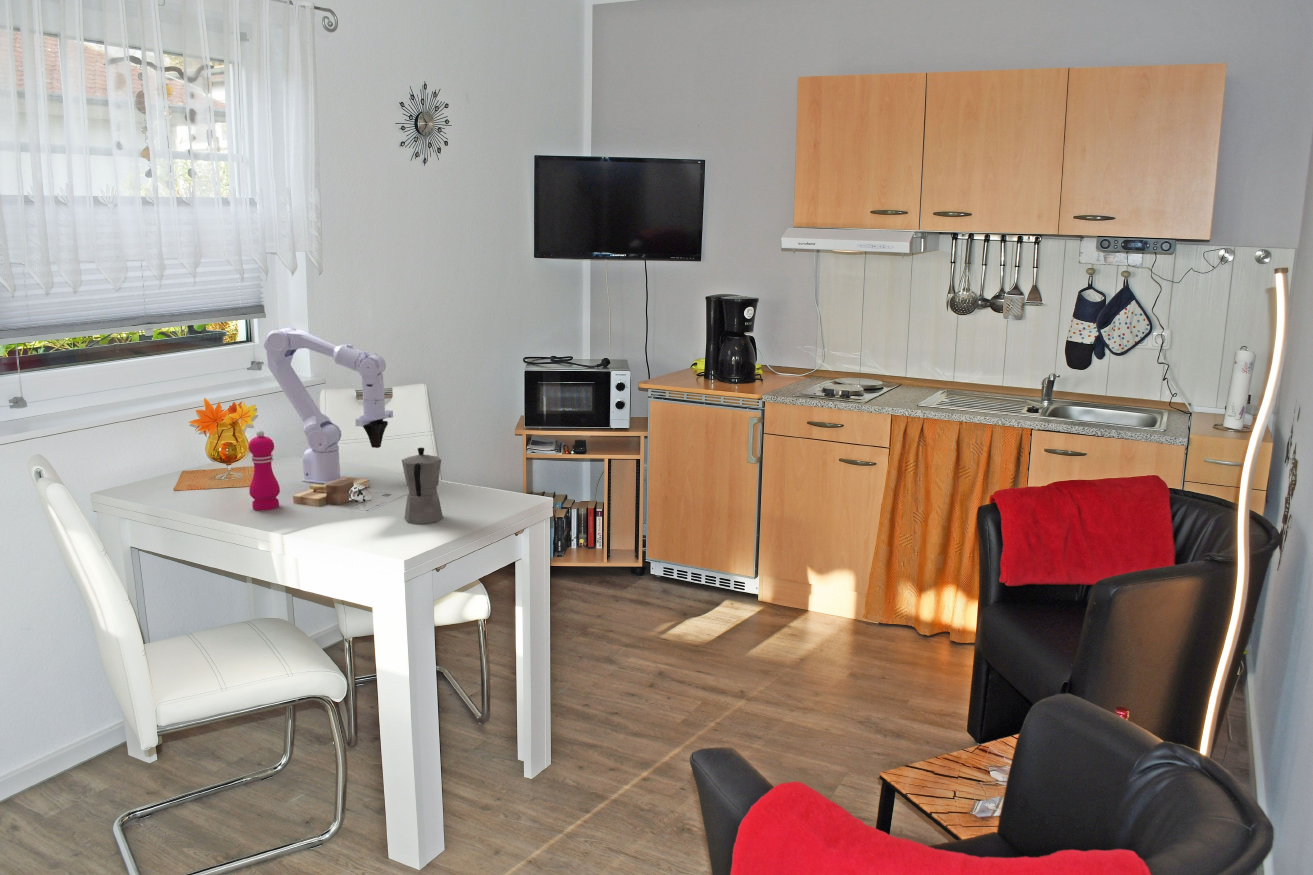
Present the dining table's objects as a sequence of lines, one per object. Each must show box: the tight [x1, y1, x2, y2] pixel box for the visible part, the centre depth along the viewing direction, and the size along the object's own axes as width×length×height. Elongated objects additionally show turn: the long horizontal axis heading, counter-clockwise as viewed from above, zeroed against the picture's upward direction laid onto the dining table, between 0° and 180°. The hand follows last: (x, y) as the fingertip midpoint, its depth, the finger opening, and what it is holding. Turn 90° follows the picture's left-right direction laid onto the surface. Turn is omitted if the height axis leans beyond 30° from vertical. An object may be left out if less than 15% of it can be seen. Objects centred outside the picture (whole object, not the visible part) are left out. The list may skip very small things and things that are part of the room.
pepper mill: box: [248, 429, 281, 512], centre depth 246 cm, size 7×7×20 cm
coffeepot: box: [401, 447, 444, 525], centre depth 237 cm, size 15×9×18 cm, turn 6°
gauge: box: [309, 479, 354, 506], centre depth 255 cm, size 11×6×5 cm, turn 71°
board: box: [292, 476, 370, 507], centre depth 261 cm, size 8×21×2 cm, turn 161°
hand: (376, 447), depth 272 cm, fingers closed
